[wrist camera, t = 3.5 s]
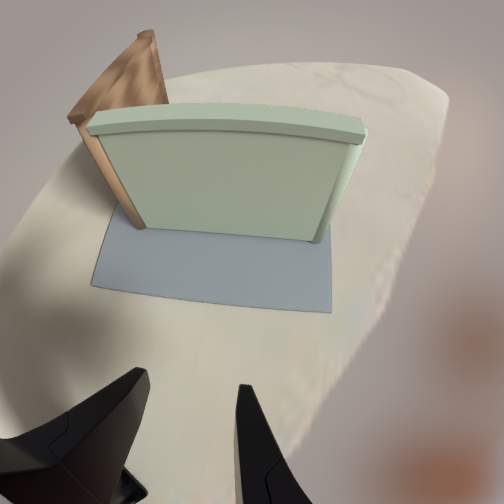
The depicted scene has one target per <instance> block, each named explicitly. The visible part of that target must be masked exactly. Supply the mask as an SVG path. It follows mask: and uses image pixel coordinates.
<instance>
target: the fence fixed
mask: <svg viewBox="0 0 504 504" xmlns="http://www.w3.org/2000/svg"><path fill="white" fill-rule="evenodd" d="M137 36H138V38H137V39H136V40H135V41H134V42H133V43H132V44H131V45H130V46H129V47H128V48H127V49H126V50H125V51H124V52H123V53H122V54H121V55H120V56H119V57H118V58H117V59H116V60H115V61H114V62H113V63H112V64H111V65H110V66H109V67H108V68H107V69H106V70H105V71H104V72H103V73H102V74H101V75H100V77H99V78H98V79H97V80H96V81H95V82H94V83H93V84H92V86H91V87H90V88H89V89H88V91H87V92H86V93H85V94H84V95H83V97H82V98H81V99H80V100H79V101H78V103H77V104H76V105H75V106H74V108H73V109H72V110H71V112H70V113H69V114H68V116H67V118H68V120H69V122H70V124H75V125H76V127H77V129H78V131H79V126H80V125H81V124H82V123H83V122H84V121H85V120H86V119H88V118H90V117H93V116H94V115H95V113H96V112H97V111H104V110H111V109H118V108H127V107H136V106H147V105H161V104H169V102H168V97H167V93H166V88H165V84H164V79H163V75H162V70H161V65H160V60H159V55H158V51H157V45H156V40H155V35H154V31H153V30H146V31H143V32H141V33H139V34H137ZM79 133H80V132H79ZM80 135H81V134H80ZM81 137H82V135H81ZM82 139H83V137H82ZM83 140H84V139H83ZM84 142H85V141H84ZM85 144H86V143H85ZM86 146H87V145H86ZM87 148H88V147H87ZM88 150H89V149H88ZM89 152H90V150H89ZM90 153H91V152H90ZM91 155H92V154H91ZM92 157H93V156H92ZM93 159H94V158H93ZM94 161H95V159H94ZM95 162H96V161H95ZM96 164H97V163H96ZM97 166H98V165H97ZM98 168H99V167H98ZM99 169H100V168H99ZM100 171H101V170H100ZM101 173H102V172H101ZM102 175H103V174H102ZM103 176H104V175H103ZM104 178H105V177H104ZM105 180H106V179H105ZM106 181H107V180H106ZM107 183H108V182H107ZM108 185H109V184H108ZM109 186H110V185H109ZM110 188H111V187H110ZM111 190H112V189H111ZM113 193H114V192H113ZM114 195H115V194H114ZM115 196H116V195H115ZM116 198H117V197H116ZM117 200H118V199H117ZM118 201H119V200H118ZM119 203H120V202H119ZM120 205H121V204H120ZM121 206H122V205H121ZM122 208H123V207H122ZM123 209H124V208H123ZM124 211H125V210H124ZM125 213H126V212H125ZM126 214H127V213H126Z"/></svg>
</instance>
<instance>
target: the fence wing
mask: <svg viewBox="0 0 504 504" xmlns="http://www.w3.org/2000/svg"><path fill="white" fill-rule="evenodd" d="M79 132H80V134H81V135H82V137H83V139H84V141H85V143H86V145H87V147H88V149H89V150H90V152H91V154H92V156H93V158H94V159H95V161H96V163H97V165H98V167H99V168H100V170H101V172H102V174H103V175H104V177H105V179H106V180H107V182H108V184H109V185H110V187H111V189H112V191H113V192H114V194H115V195H116V197H117V199H118V200H119V202H120V204H121V205H122V207H123V208H124V210H125V212H126V213H127V215H128V216H129V218H130V220H131V221H132V223H133V224H134V226H135V227H136V229H138V230H143V229H145V228H159V229H173V230H186V231H199V232H212V233H225V234H237V235H249V236H261V237H272V238H283V239H294V240H305V241H310V242H311V243H313V244H319V243H320V242H321V241H322V239H323V237H324V235H325V233H326V231H327V228H328V226H329V224H330V222H331V220H332V218H333V215H334V213H335V211H336V209H337V207H338V204H339V202H340V200H341V198H342V195H343V193H344V191H345V188H346V186H347V184H348V182H349V179H350V177H351V175H352V172H353V170H354V167H355V165H356V163H357V160H358V158H359V155H360V153H361V151H362V148H363V146H364V143H365V141H366V138H367V136H368V130H367V128H366V127H365V126H364V125H363V123H362V120H361V118H358V117H353V116H348V115H342V114H336V113H330V112H324V111H317V110H310V109H302V108H293V107H283V106H272V105H258V104H238V103H180V104H161V105H147V106H136V107H127V108H118V109H111V110H104V111H97V112H96V113H95V115H94V116H93V117H90V118H88V119H86V120H85V121H84V122H83V123H82V124H81V125H80V126H79Z"/></svg>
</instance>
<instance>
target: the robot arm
mask: <svg viewBox="0 0 504 504" xmlns="http://www.w3.org/2000/svg"><path fill="white" fill-rule="evenodd" d="M149 391H150V381H149V377H148V372H147V370H146V369H144V368H139V367H135V368H133V369H132V370H130V371H129V372H127V373H126V374H124V375H123V376H121V377H120V378H118V379H117V380H115V381H114V382H112V383H111V384H109V385H107V386H106V387H104V388H103V389H101V390H100V391H98V392H97V393H95V394H94V395H92V396H90V397H89V398H87V399H86V400H84V401H83V402H81V403H79V404H78V405H76V406H75V407H73V408H71V409H70V410H69V411H67V412H65V413H63V414H62V415H60V416H58V417H57V418H55V419H53V420H51V421H50V422H48V423H46V424H44V425H42V426H40V427H37V428H35V429H33V430H31V431H28V432H26V433H24V434H22V435H19V436H17V437H14V438H9V439H1V438H0V504H135V503H137V502H139V501H140V500H142V499H144V498H145V497H146V496H147V495H148V491H147V490H146V489H145V488H144V487H143V486H142V485H141V484H140V483H139V482H138V481H137V480H136V479H135V478H134V477H133V476H132V475H131V474H130V473H129V472H128V471H127V469H126V468H125V467H124V464H125V462H126V459H127V456H128V454H129V451H130V449H131V446H132V444H133V441H134V439H135V436H136V434H137V431H138V429H139V426H140V424H141V420H142V417H143V413H144V409H145V406H146V402H147V398H148V395H149ZM234 465H235V491H236V504H312V502H311V501H310V500H309V498H308V497H307V496H306V494H305V493H304V492H303V490H302V489H301V487H300V486H299V484H298V483H297V481H296V480H295V478H294V476H293V475H292V472H291V471H290V469H289V467H288V465H287V463H286V461H285V459H284V458H283V455H282V453H281V450H280V448H279V446H278V444H277V442H276V440H275V437H274V435H273V433H272V431H271V429H270V426H269V424H268V422H267V420H266V418H265V415H264V413H263V411H262V408H261V406H260V404H259V402H258V399H257V397H256V395H255V392H254V390H253V388H252V386H251V385H246V384H240V385H239V390H238V396H237V403H236V412H235V429H234ZM140 491H142V492H143V493H144V494H141V492H140Z"/></svg>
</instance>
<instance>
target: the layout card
mask: <svg viewBox="0 0 504 504" xmlns="http://www.w3.org/2000/svg"><path fill="white" fill-rule="evenodd" d="M91 285H92V286H93V287H99V288H105V289H111V290H117V291H123V292H129V293H136V294H142V295H149V296H156V297H163V298H171V299H178V300H186V301H195V302H203V303H212V304H221V305H231V306H241V307H251V308H263V309H275V310H288V311H303V312H319V313H331V312H332V258H331V231H330V224H329V226H328V228H327V231H326V233H325V235H324V237H323V239H322V241H321V242H320V243H319V244H313V243H311V242H310V241H305V240H294V239H283V238H272V237H261V236H249V235H237V234H225V233H212V232H199V231H186V230H173V229H159V228H145V229H143V230H138V229H136V227H135V226H134V224H133V223H132V221H131V220H130V218H129V216H128V215H127V214H126V213H125V211H124V209H123V208H122V206H121V205H120V203H119V201H118V203H117V205H116V208H115V210H114V213H113V216H112V219H111V222H110V224H109V227H108V230H107V233H106V236H105V239H104V242H103V245H102V249H101V252H100V255H99V258H98V262H97V265H96V269H95V272H94V276H93V279H92V283H91Z"/></svg>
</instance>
